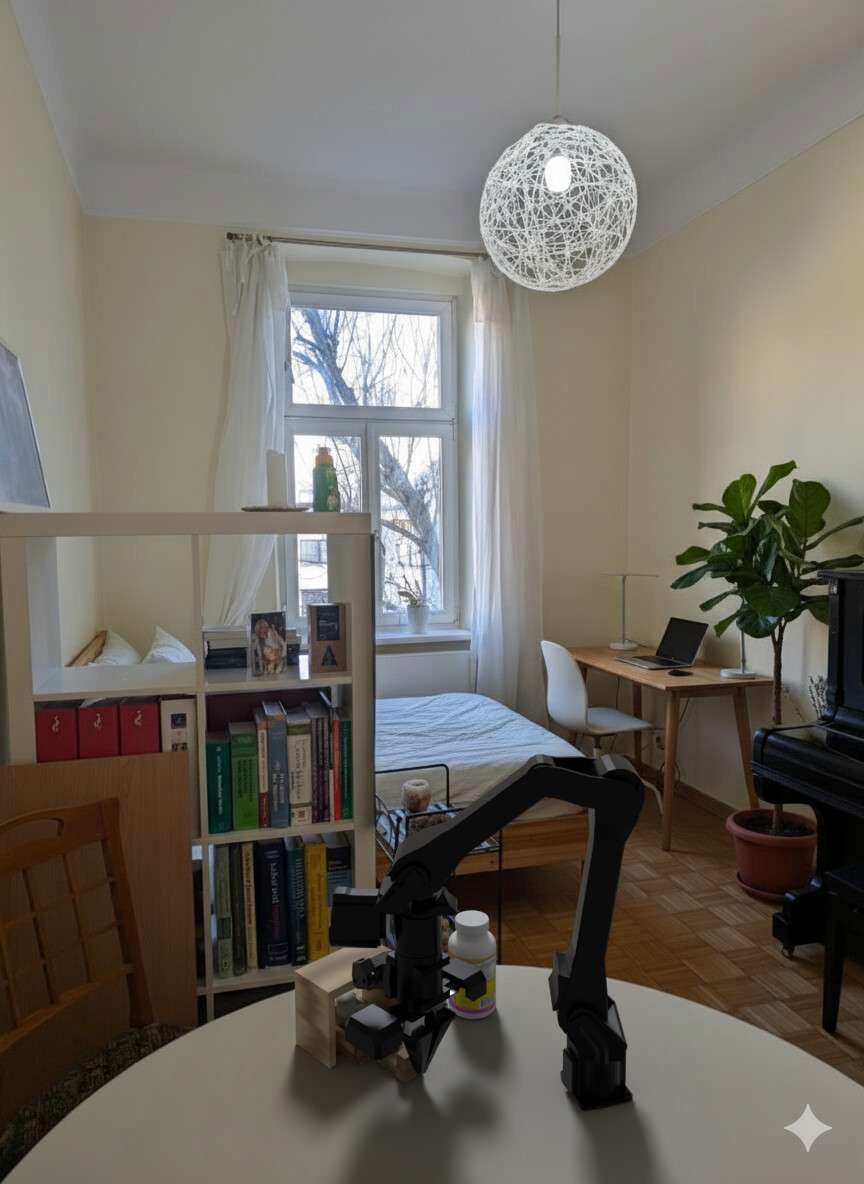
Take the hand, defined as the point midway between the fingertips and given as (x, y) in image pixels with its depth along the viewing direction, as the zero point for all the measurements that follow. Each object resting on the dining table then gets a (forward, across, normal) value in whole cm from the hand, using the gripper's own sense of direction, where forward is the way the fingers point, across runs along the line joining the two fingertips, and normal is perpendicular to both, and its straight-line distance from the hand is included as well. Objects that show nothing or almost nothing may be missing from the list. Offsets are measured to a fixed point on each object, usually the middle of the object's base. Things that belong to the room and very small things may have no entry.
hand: (420, 1072), depth 96 cm
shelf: (+1, 0, -13) cm, 13 cm away
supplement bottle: (+1, -16, -6) cm, 17 cm away
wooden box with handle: (+1, 0, -9) cm, 9 cm away
